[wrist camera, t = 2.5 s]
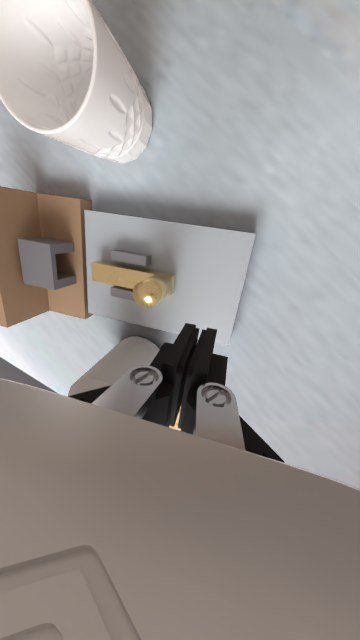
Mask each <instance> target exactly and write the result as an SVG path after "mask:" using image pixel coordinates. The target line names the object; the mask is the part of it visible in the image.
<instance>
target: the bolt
mask: <svg viewBox="0 0 360 640" xmlns="http://www.w3.org/2000/svg"><path fill="white" fill-rule="evenodd" d="M91 268H92V281H96V282H101V283H106V284H111V285H116V286H121V287H125V288H130V289H133V299H134V301H135V302H136V304H137V305H139V306H140V307H142V308H145V309H150V308H152V307H154V306H155V305H156V304H158V303H159V302H160V301H161V300H162V299H164V298H165V297H166V296H171V295H172V294H173V293H174V286H175V278H176V274H170V273H165V272H159V271H154V270H149V269H143V268H138V267H133V266H127V265H122V264H116V263H111V262H106V261H95V262H91Z"/></svg>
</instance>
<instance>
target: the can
mask: <svg viewBox="0 0 360 640" xmlns="http://www.w3.org/2000/svg"><path fill="white" fill-rule="evenodd" d="M159 350H160V349H159V348H158V347H157V346H156V345H155V344H154V343H152V342H151V341H149V340H147V339H145V338H142V337H128V338H126V339H123V340H122V341H121V342H120V343H119V344H118V345H117V346H115V347H114V348H113V349H112V350H111V351H110V352H109V353H108V354H106V355H105V356H104V357H103V358H102V359H101V360H100V361H99V362H97V363H96V364H95V365H94V366H93V367H92V368H91V369H90V370H89V371H87V372H86V373H85V374H84V375H83V376H82V377H81V378H80V379H78V380H77V381H76V382H75V383H74V384H73V385H72V386H71V387H70V390H69V393H68V396H71V395H75V394H79V393H82V392H86V391H90V390H94V389H98V388H102V387H106V386H110V385H113V384H114V383H115V382H116V381H117V380H118V379H119V378H120V377H122V376H123V375H124V374H125V373H126V372H127V371H128V370H130V369H131V368H133V367H136V366H140V365H148V366H149V365H150V364H151V362H152V361H153V359H154V358H155V356H156V355H157V353H158V352H159Z"/></svg>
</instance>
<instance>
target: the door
mask: <svg viewBox="0 0 360 640" xmlns="http://www.w3.org/2000/svg"><path fill="white" fill-rule="evenodd" d="M255 236H256V234H255V233H248V232H241V231H234V230H227V229H219V228H212V227H205V226H198V225H191V224H184V223H176V222H169V221H162V220H155V219H148V218H141V217H134V216H126V215H119V214H112V213H105V212H98V211H92V205H91V201H89V200H84V199H78V198H71V197H63V196H55V195H48V194H40V193H33V192H28V191H22V190H17V189H11V188H6V187H1V186H0V326H4V327H10V326H12V325H15V324H17V323H20V322H22V321H25V320H27V319H30V318H32V317H34V316H37V315H39V314H42V313H44V312H47V311H49V310H50V311H54V312H58V313H62V314H66V315H70V316H74V317H78V318H82V319H86V318H88V317H90V316H92V315H94V314H95V315H99V316H103V317H107V318H112V319H116V320H120V321H124V322H128V323H133V324H137V325H141V326H145V327H149V328H153V329H158V330H162V331H166V332H170V333H174V334H180V332H181V330H182V328H183V327H184V325H185V323H189V324H194V325H196V328H199V335H198V339H199V337H200V335H201V332H202V329H204V330H206V329H207V327H208V328H212V329H217V334H216V339H215V343H216V344H220V345H225V346H229V342H230V338H231V334H232V329H233V325H234V321H235V317H236V313H237V309H238V305H239V301H240V297H241V293H242V289H243V285H244V281H245V276H246V272H247V268H248V264H249V260H250V256H251V252H252V248H253V244H254V240H255ZM95 261H106V262H111V263H116V264H122V265H127V266H133V267H138V268H143V269H149V270H154V271H159V272H165V273H170V274H176V278H175V286H174V293H173V294H172V295H171V296H166V297H165V298H164V299H162V300H161V301H160V302H159V303H158V304H156V305H155V306H154V307H152V308H150V309H145V308H142V307H140V306H139V305H137V304H136V302H135V301H134V299H133V289H130V288H125V287H121V286H116V285H111V284H106V283H101V282H96V281H92V268H91V262H95Z"/></svg>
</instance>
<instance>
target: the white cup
mask: <svg viewBox="0 0 360 640" xmlns="http://www.w3.org/2000/svg"><path fill="white" fill-rule="evenodd" d="M0 99H1V100H2V102H3V104H4V105H5V107H6V108H7V109H8V111H9V112H10V113H11V114H12V115H13V117H14V118H15V119H16V120H18V121H19V122H20V123H21V124H22V125H24V126H25V127H27V128H28V129H30V130H32V131H35V132H37V133H40V134H42V135H45V136H47V137H50V138H52V139H55V140H57V141H59V142H62V143H64V144H67V145H69V146H71V147H74V148H76V149H79V150H81V151H84V152H86V153H89V154H92V155H95V156H97V157H100V158H105V159H107V160H109V161H113V162H118V163H122V164H124V163H127V162H129V161H132V160H135V159H137V157H138V156H139V155H140V154H141V153H142V152H143V150H144V149H145V148H146V147H147V144H148V141H149V138H150V135H151V132H152V108H151V106H150V103H149V101H148V98H147V96H146V93H145V91H144V89H143V87H142V86H141V84H140V82H139V81H138V78H137V76H136V74H135V72H134V71H133V69H132V67H131V65H130V63H129V62H128V60H127V59H126V57H125V55H124V53H123V51H122V50H121V48H120V46H119V44H118V42H117V41H116V39H115V38H114V36H113V34H112V33H111V31H110V29H109V28H108V26H107V24H106V23H105V21H104V19H103V18H102V16H101V15H100V13H99V11H98V10H97V8H96V6H95V5H94V3H93V1H92V0H0Z"/></svg>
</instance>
